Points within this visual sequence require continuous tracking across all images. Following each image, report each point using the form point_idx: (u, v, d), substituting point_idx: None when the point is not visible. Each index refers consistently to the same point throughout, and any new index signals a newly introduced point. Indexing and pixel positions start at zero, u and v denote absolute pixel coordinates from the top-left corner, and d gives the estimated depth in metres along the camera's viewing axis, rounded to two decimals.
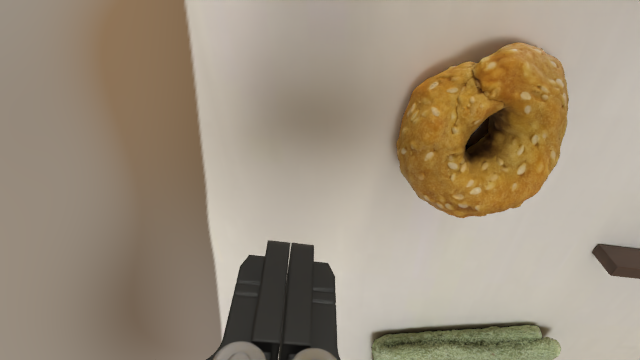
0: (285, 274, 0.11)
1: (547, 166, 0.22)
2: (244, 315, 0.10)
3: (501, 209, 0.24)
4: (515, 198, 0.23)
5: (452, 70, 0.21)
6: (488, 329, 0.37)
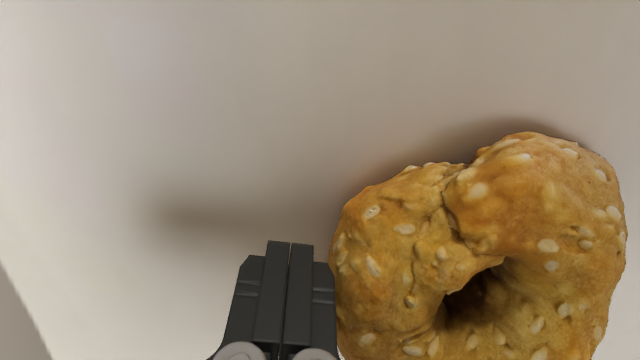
0: (285, 274, 0.11)
1: (587, 355, 0.12)
2: (244, 315, 0.10)
3: None
4: None
5: (406, 185, 0.11)
6: None
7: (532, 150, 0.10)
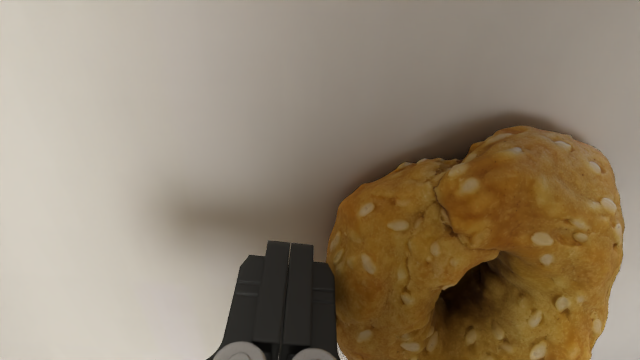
0: (285, 274, 0.11)
1: (587, 348, 0.12)
2: (244, 315, 0.10)
3: None
4: None
5: (399, 182, 0.11)
6: None
7: (524, 144, 0.10)
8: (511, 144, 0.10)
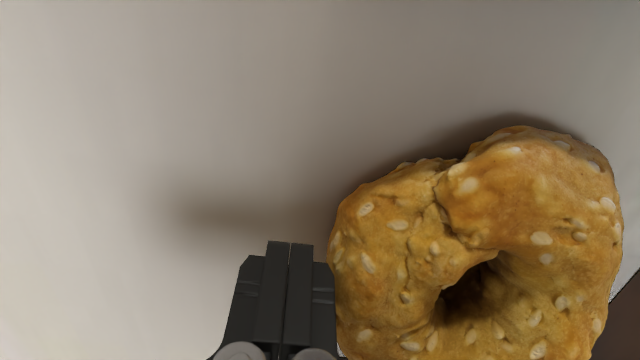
0: (285, 274, 0.11)
1: (587, 347, 0.12)
2: (244, 315, 0.10)
3: None
4: None
5: (398, 181, 0.11)
6: None
7: (523, 143, 0.10)
8: (510, 144, 0.10)
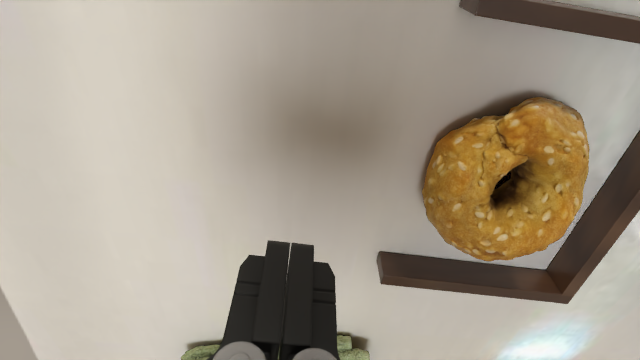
0: (285, 274, 0.11)
1: (571, 212, 0.23)
2: (244, 315, 0.10)
3: (527, 253, 0.24)
4: (541, 243, 0.24)
5: (476, 125, 0.22)
6: None
7: (539, 104, 0.21)
8: (533, 104, 0.21)
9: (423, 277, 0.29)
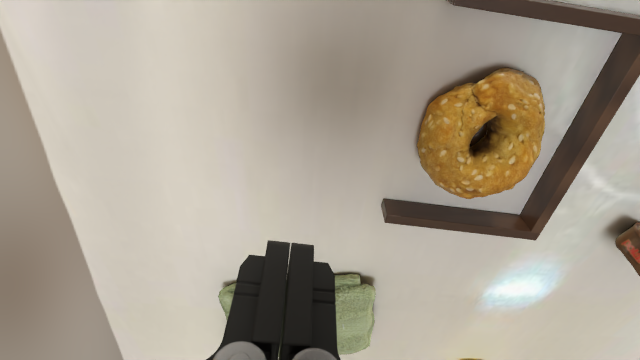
0: (285, 274, 0.11)
1: (531, 157, 0.30)
2: (244, 315, 0.10)
3: (498, 191, 0.31)
4: (508, 181, 0.31)
5: (457, 90, 0.29)
6: None
7: (505, 72, 0.28)
8: (500, 72, 0.28)
9: (419, 217, 0.36)
